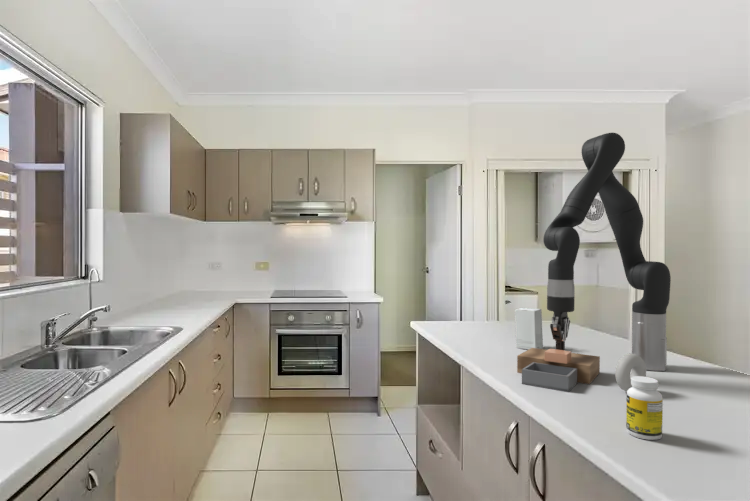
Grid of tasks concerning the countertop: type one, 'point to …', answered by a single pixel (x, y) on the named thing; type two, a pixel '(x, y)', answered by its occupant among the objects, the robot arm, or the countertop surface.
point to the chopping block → (584, 363)
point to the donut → (629, 370)
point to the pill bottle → (644, 409)
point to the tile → (558, 356)
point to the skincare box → (528, 328)
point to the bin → (549, 376)
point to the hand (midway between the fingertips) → (560, 353)
